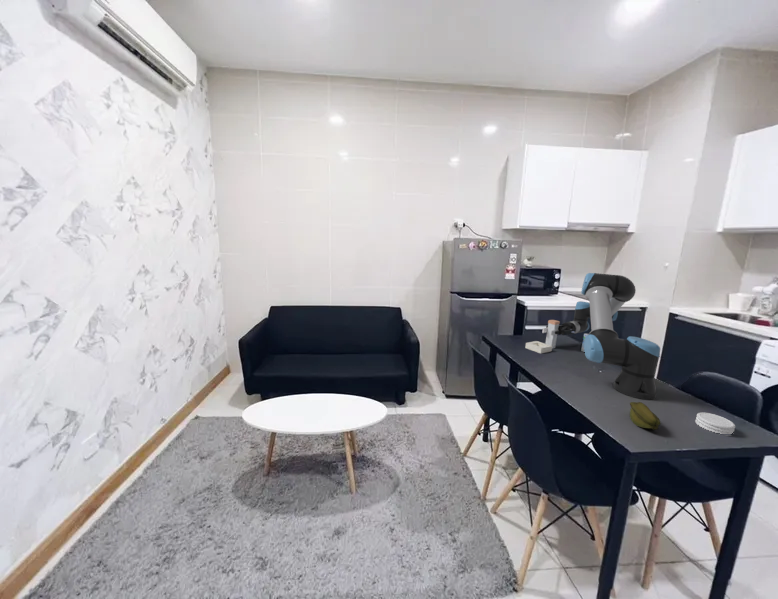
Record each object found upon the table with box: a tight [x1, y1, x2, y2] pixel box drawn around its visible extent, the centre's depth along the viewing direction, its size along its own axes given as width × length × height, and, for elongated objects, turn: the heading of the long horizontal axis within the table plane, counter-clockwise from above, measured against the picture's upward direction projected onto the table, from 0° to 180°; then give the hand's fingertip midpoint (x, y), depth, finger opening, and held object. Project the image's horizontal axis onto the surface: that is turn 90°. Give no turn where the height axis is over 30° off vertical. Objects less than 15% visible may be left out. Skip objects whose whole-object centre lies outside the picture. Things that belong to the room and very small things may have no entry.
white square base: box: [525, 340, 553, 354], centre depth 194 cm, size 10×10×4 cm
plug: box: [544, 319, 561, 349], centre depth 198 cm, size 4×4×16 cm
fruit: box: [629, 401, 662, 431], centre depth 120 cm, size 11×12×7 cm
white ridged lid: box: [694, 412, 736, 435], centre depth 120 cm, size 10×10×4 cm
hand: (546, 331), depth 195 cm, fingers open, 4 cm apart
